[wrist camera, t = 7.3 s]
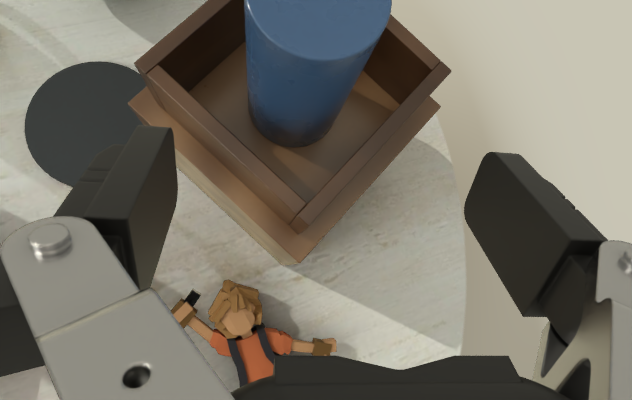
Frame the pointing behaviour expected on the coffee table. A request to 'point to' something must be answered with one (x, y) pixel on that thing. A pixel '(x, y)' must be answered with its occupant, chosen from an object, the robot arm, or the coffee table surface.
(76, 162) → the coaster
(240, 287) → the character figurine
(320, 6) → the blue tin
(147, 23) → the coffee table surface
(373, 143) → the bin
